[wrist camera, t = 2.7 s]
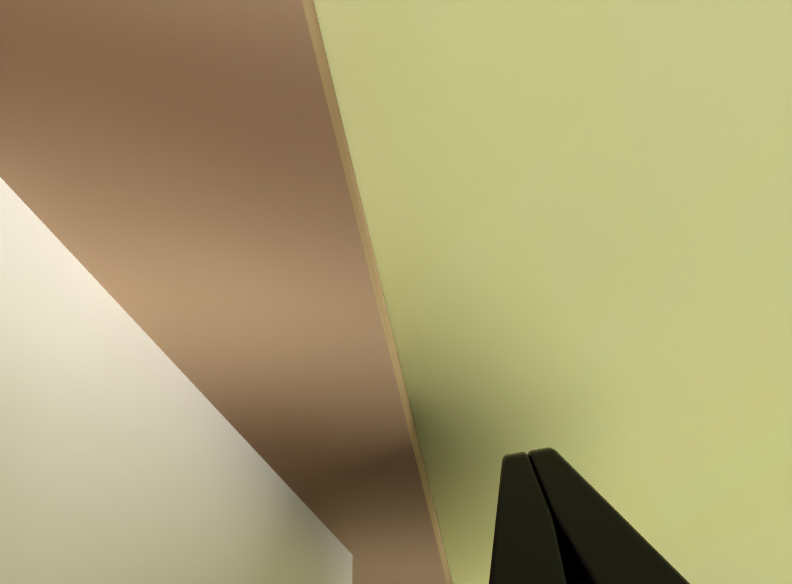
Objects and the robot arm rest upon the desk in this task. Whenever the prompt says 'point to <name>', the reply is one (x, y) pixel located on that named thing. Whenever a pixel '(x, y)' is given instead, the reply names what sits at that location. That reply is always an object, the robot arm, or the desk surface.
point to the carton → (125, 447)
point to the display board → (229, 237)
